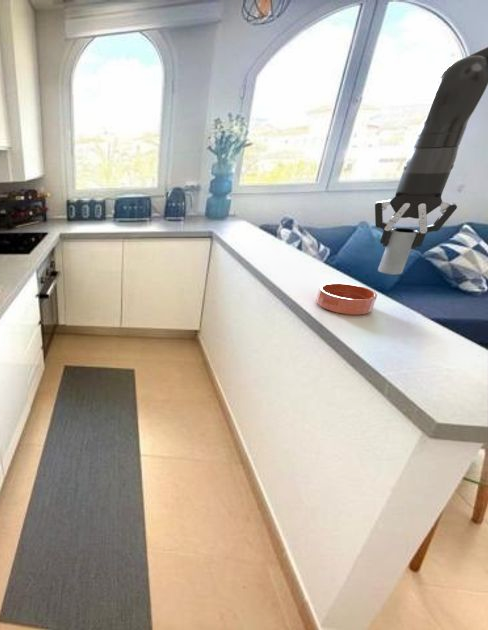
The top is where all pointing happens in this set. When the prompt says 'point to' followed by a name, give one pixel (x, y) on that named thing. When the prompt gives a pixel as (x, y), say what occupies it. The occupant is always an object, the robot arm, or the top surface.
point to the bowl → (346, 298)
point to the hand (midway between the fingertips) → (398, 246)
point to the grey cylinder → (397, 250)
